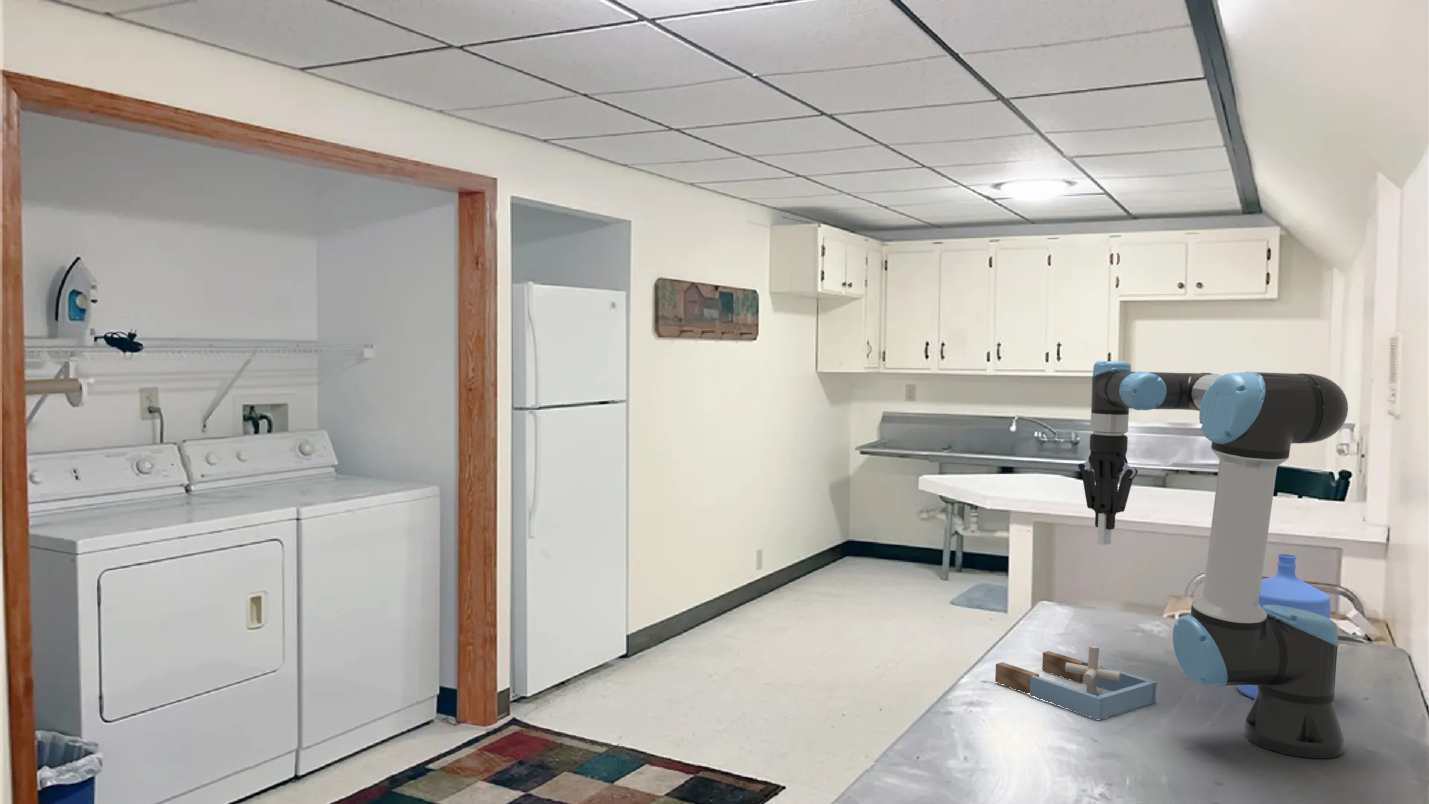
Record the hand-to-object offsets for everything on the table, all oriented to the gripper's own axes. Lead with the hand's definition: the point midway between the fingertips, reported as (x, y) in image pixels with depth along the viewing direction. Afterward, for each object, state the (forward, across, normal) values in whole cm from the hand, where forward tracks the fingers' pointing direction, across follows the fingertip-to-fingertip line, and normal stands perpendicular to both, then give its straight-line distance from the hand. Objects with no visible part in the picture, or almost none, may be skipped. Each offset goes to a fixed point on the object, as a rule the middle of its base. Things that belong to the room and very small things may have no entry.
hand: (1104, 543), depth 222 cm
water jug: (+27, -31, -14) cm, 43 cm away
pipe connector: (+27, -12, +20) cm, 35 cm away
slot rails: (+26, 0, +20) cm, 33 cm away
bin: (+26, -12, +21) cm, 36 cm away
